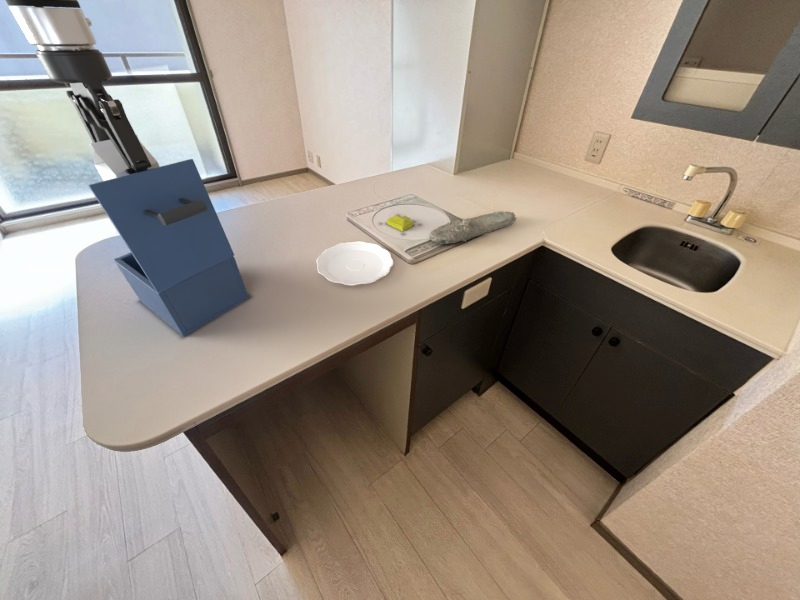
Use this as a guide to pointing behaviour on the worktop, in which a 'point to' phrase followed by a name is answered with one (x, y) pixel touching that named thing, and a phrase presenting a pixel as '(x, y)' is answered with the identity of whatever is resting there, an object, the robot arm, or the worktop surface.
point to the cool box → (188, 293)
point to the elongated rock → (471, 227)
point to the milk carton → (114, 160)
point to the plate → (354, 263)
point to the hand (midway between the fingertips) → (144, 199)
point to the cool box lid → (165, 221)
